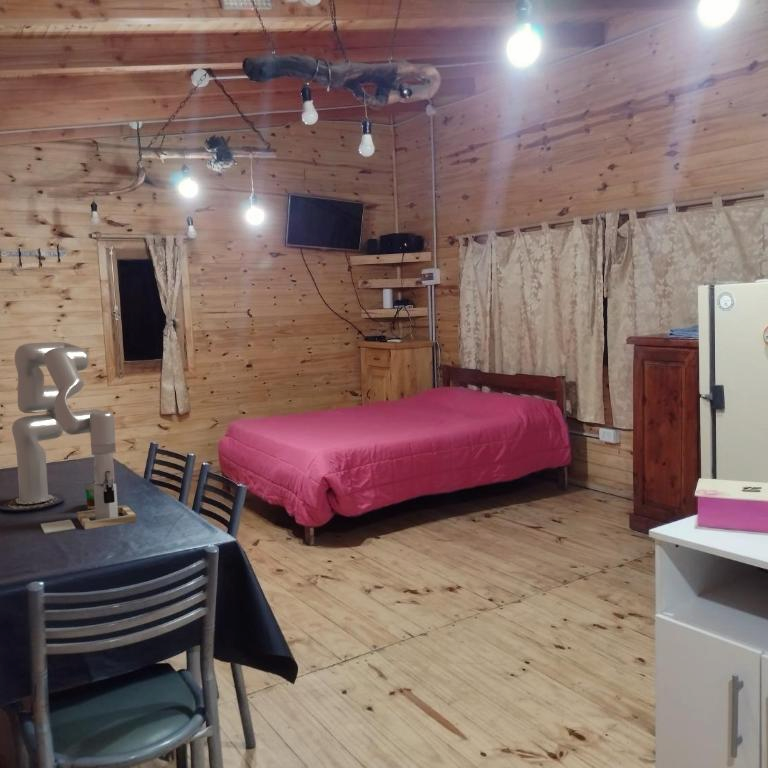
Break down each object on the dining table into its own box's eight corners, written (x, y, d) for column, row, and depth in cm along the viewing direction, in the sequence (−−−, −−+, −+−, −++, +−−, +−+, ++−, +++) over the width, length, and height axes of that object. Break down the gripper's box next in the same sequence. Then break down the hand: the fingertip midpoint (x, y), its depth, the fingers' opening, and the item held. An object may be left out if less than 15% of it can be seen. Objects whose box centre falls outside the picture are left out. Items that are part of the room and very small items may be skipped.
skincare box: (118, 518, 241) (116, 483, 240) (109, 522, 237) (108, 486, 236) (103, 517, 243) (102, 482, 242) (94, 520, 239) (93, 485, 238)
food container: (101, 512, 249) (99, 484, 248) (85, 512, 251) (83, 483, 250) (121, 503, 261) (119, 476, 260) (105, 502, 263) (104, 475, 262)
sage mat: (40, 525, 235) (40, 523, 235) (70, 520, 240) (70, 519, 240) (44, 533, 226) (44, 532, 226) (75, 528, 230) (75, 527, 230)
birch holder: (77, 517, 243) (77, 512, 243) (126, 510, 251) (126, 505, 251) (85, 529, 230) (84, 523, 229) (137, 521, 238) (136, 515, 238)
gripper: (87, 446, 244) (90, 496, 245) (96, 453, 229) (99, 506, 230) (110, 444, 247) (113, 493, 249) (120, 451, 233) (123, 503, 234)
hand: (106, 499), depth 240 cm, fingers open, 9 cm apart
